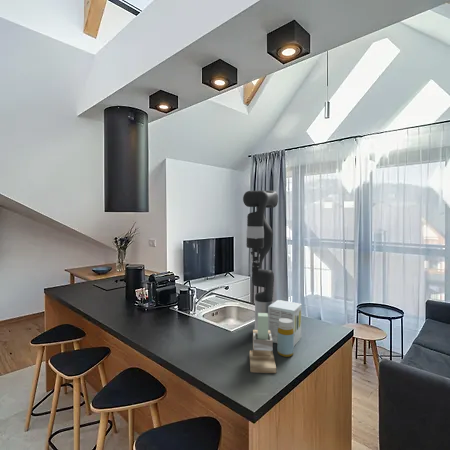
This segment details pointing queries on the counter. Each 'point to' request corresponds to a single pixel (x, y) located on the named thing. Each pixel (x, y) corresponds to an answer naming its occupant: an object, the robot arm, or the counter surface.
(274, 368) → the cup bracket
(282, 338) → the bottle
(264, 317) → the rail post
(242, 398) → the counter surface
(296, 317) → the supplement box
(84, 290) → the counter surface
